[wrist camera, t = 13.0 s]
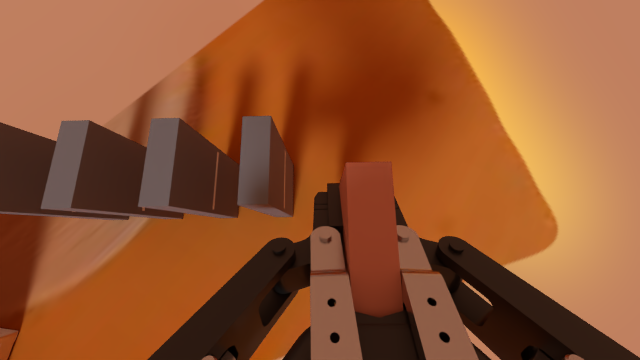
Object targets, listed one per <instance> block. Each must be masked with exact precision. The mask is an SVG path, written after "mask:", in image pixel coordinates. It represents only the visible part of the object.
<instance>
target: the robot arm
mask: <svg viewBox="0 0 640 360" xmlns="http://www.w3.org/2000/svg"><path fill="white" fill-rule="evenodd" d="M339 184H340V183H327V192H318V193H317V195H316V196H315V198H314V221H313V232H312V233H311V235H310V236H309V237H308V238H307V239H305V240H303V241H300V242H296V243H293V242H292V241H291V240H289V239H287V238H276V239H273V240H271V241H269V242H268V243H267V244H266V245H265V246H264V247H263V248H262V249H261V250H260V251H259V252H258V253H257V254H256V255H255V256H254V257H253V258H252V259H251V260H250V261H249V262H247V263H246V264H245V265H244V266H243V267H242V268H241V269H240V270H239V271H238V272H237V273H236V274H235V275H234V276H233V277H232V278H231V279H230V280H229V281H228V282H227V283H226V284H225V285H224V286H223V287H222V288H221V289H220V290H219V291H218V292H217V293H216V294H215V295H213V296H212V297H211V298H210V299H209V300H208V301H207V302H206V303H205V304H204V305H203V306H202V307H201V308H200V309H199V310H198V311H197V312H196V313H195V314H194V315H193V316H192V317H191V318H190V319H189V320H188V321H187V322H186V323H185V324H184V325H183V326H182V327H181V328H179V329H178V330H177V331H176V332H175V333H174V334H173V335H172V336H171V337H170V338H169V339H168V340H167V341H166V342H165V343H164V344H163V345H162V346H161V347H160V348H159V349H158V350H157V351H156V352H155V353H154V354H153V355H152V356H151V357H150V358H149V359H148V360H249V359H250V357H251V356H252V355H253V353H254V352H255V351H256V349H257V348H258V346H259V345H260V344H261V342H262V341H263V339H264V338H265V337H266V335H267V334H268V333H269V331H270V330H271V328H272V327H273V326H274V324H275V323H276V322H277V320H278V319H279V317H280V316H281V315H282V313H283V312H284V311H285V309H286V308H287V306H288V305H289V304H290V302H291V301H292V300H293V298H294V297H295V295H296V294H297V292H298V290H299V289H302V288H305V287H308V286H310V302H311V326H310V327H309V328H308V329H306V330H305V331H304V332H303V333H302V334H301V335H300V336H299V338H298V339H297V340H296V342H295V343H294V344H293V346H292V347H291V349H290V350H289V351H288V353H287V354H286V355H285V357H284V358H283V360H491V359H490V358H489V357H488V356H487V355H485V354H484V353H483V352H482V351H481V350H480V349H478V348H477V347H476V346H475V345H474V344H473V343H472V342H471V341H470V338H469V336H468V334H467V332H466V329H465V327H464V325H465V326H466V327H467V328H468V329H469V330H470V331H471V332H472V333H473V334H474V335H475V336H476V337H478V338H479V339H480V340H481V341H482V342H483V343H484V344H485V345H486V346H487V347H488V348H489V349H490V350H491V351H492V352H493V353H495V354H496V355H497V356H498V357H499V358H500V359H501V360H640V358H639V357H638V356H636V355H635V354H633V353H632V352H630V351H629V350H627V349H626V348H624V347H623V346H621V345H620V344H618V343H617V342H615V341H614V340H612V339H611V338H609V337H608V336H606V335H605V334H603V333H602V332H600V331H599V330H597V329H596V328H594V327H593V326H591V325H590V324H588V323H587V322H585V321H583V320H582V319H581V318H579V317H578V316H576V315H575V314H573V313H572V312H570V311H569V310H567V309H566V308H564V307H563V306H561V305H560V304H558V303H557V302H555V301H554V300H552V299H551V298H549V297H548V296H546V295H545V294H543V293H542V292H540V291H539V290H537V289H536V288H534V287H533V286H531V285H530V284H528V283H527V282H525V281H524V280H522V279H521V278H519V277H518V276H516V275H515V274H513V273H512V272H510V271H509V270H507V269H506V268H504V267H503V266H501V265H500V264H498V263H497V262H495V261H494V260H492V259H491V258H489V257H488V256H486V255H485V254H483V253H482V252H480V251H479V250H477V249H476V248H474V247H473V246H471V245H470V244H468V243H467V242H465V241H464V240H462V239H460V238H457V237H453V236H445V237H442V238H441V239H440V240H439V242H438V243H437V242H433V241H429V240H425V239H422V238H419V237H418V235H417V233H416V232H415V231H414V230H412V229H411V228H409V227H408V226H407V224H406V222H405V219H404V217H403V215H402V212H401V210H400V209H399V206H398V204H397V201H396V199H395V196H394V201H395V213H396V226H397V238H398V250H399V262H400V275H401V287H402V302H403V311H400V312H397V313H394V314H390V315H387V316H383V317H374V316H371V315H367V314H363V313H359V312H355V311H354V305H353V299H352V293H351V287H350V281H349V275H348V271H347V270H346V269H345V263H344V257H343V250H342V246H343V219H342V210H341V200H340V191H339ZM462 280H465V281H466V282H467V283H469V284H470V285H471V286H473V287H474V288H475V289H476V290H477V291H479V292H480V293H481V294H482V295H484V296H485V297H486V298H487V299H488V300H489V301H490V302H491V304H492V305H493V306H491V305H490V304H489V303H487V302H486V301H485V300H484V299H482V298H481V297H480V296H479V295H478V294H476V293H475V292H474V291H473V290H471V289H470V288H469V287H468V286H466V285H465V284H464V283H463V282H462ZM463 324H464V325H463Z"/></svg>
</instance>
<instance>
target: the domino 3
mask: <svg viewBox="0 0 640 360" xmlns="http://www.w3.org/2000/svg"><path fill="white" fill-rule="evenodd" d="M239 169H240V165H238V164H237V163H236V162H235V161H233V160H232V159H231V158H230V157H228V156H227V155H226V154H224V153H223V152H222V151H221V150H219V149H218V148H217V147H216V146H214V145H213V144H212V143H211V142H209V141H208V140H207V139H205V138H204V137H203V136H202V135H200V134H199V133H198V132H197V131H195V130H194V129H193V128H191V127H190V126H189V125H188V124H186V123H185V122H184V121H183V120H181V119H180V118H159V119H151V125H150V132H149V138H148V145H147V151H146V158H145V164H144V171H143V178H142V184H141V191H140V197H139V204H138V207H145V208H152V209H159V210H167V211H174V212H181V213H188V214H196V215H203V216H210V217H217V218H238V205H237V202H238V185H239Z"/></svg>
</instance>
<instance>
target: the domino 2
mask: <svg viewBox="0 0 640 360" xmlns="http://www.w3.org/2000/svg"><path fill="white" fill-rule="evenodd" d="M146 151H147V148H146V147H144V146H142V145H140V144H138V143H136V142H134V141H132V140H130V139H127V138H125V137H123V136H121V135H119V134H117V133H115V132H113V131H111V130H109V129H106V128H104V127H102V126H100V125H98V124H96V123H94V122H92V121H89V120H87V121H86V120H85V121H62V122H61V126H60V130H59V134H58V139H57V143H56V147H55V151H54V155H53V159H52V163H51V167H50V172H49V176H48V180H47V184H46V188H45V192H44V196H43V200H42V205H41V209H51V210H63V211H75V212H87V213H99V214H112V215H124V216H136V217H148V218H160V219H183V213H181V212H174V211H167V210H159V209H152V208H145V207H138V204H139V197H140V191H141V184H142V178H143V171H144V164H145V158H146Z"/></svg>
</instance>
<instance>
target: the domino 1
mask: <svg viewBox="0 0 640 360" xmlns="http://www.w3.org/2000/svg"><path fill="white" fill-rule="evenodd" d="M56 143H57V141H53V140H51V139H48V138H45V137H42V136H39V135H36V134H33V133H30V132H27V131H24V130H21V129H18V128H15V127H12V126H9V125H6V124H3V123H0V214H18V215H35V216H52V217H70V218H87V219H104V220H128V218H129V216H124V215H112V214H99V213H87V212H75V211H63V210H51V209H41V205H42V200H43V196H44V192H45V188H46V184H47V180H48V176H49V172H50V167H51V163H52V159H53V155H54V151H55V147H56Z"/></svg>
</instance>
